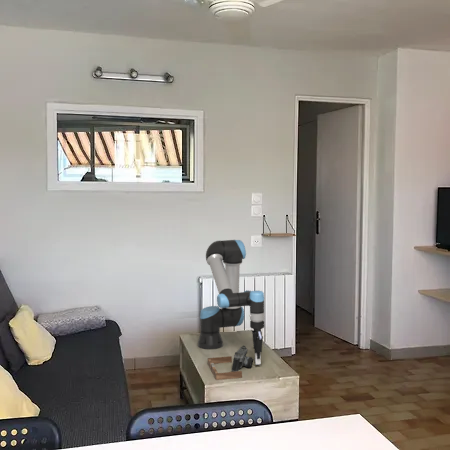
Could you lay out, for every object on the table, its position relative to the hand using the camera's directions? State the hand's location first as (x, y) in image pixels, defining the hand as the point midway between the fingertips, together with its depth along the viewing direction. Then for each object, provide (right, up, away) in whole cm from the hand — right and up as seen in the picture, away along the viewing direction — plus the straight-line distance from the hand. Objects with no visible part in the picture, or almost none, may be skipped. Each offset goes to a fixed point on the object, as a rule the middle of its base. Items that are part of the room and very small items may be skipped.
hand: (257, 363), depth 277 cm
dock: (-17, -2, -3) cm, 18 cm away
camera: (-8, -2, 0) cm, 8 cm away
